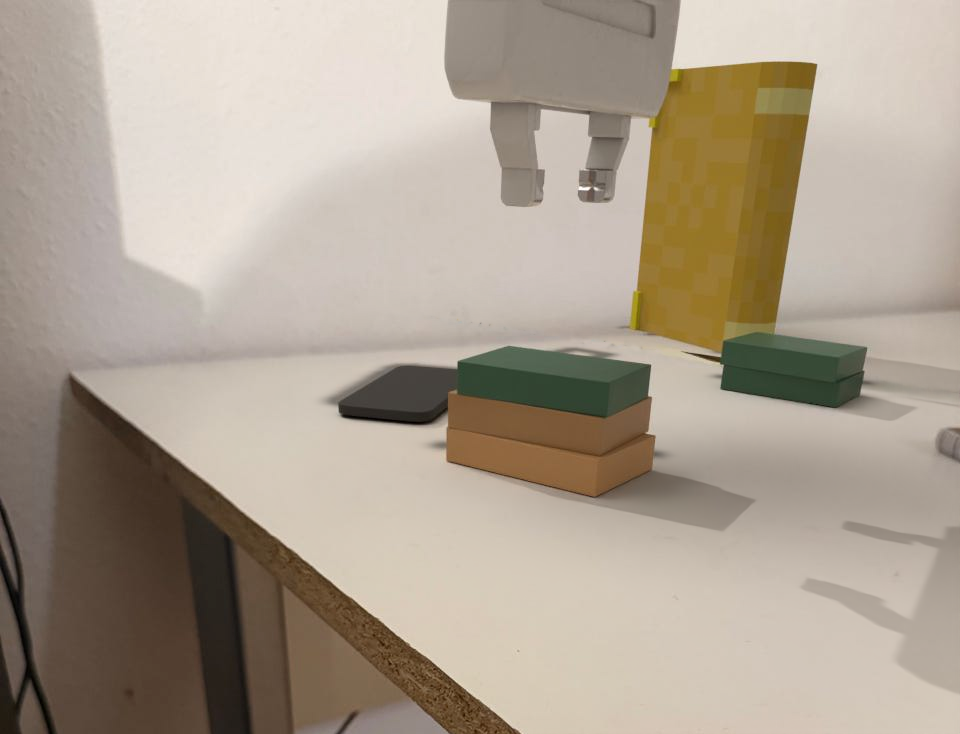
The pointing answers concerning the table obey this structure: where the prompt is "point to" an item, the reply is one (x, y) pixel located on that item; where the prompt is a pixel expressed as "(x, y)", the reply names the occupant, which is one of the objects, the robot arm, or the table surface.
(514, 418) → the tan stack
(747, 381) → the green stack
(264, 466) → the table surface
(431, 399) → the phone
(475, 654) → the table surface
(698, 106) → the book
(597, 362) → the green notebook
